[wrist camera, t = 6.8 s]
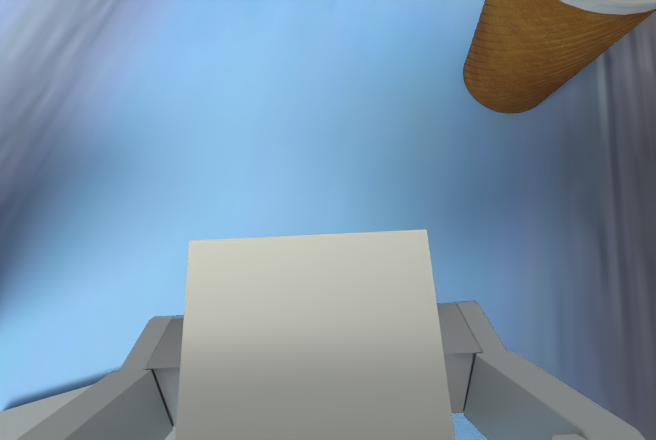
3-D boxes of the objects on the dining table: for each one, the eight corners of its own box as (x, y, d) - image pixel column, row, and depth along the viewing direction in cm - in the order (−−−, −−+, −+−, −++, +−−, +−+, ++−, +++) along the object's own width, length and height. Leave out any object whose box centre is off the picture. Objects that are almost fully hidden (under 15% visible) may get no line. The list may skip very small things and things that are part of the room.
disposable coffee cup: (544, 155, 25) (724, 10, 14) (420, 98, 27) (488, -77, 15) (587, 56, 28) (770, -140, 16) (470, 8, 29) (562, -203, 17)
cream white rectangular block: (392, 416, 12) (465, 513, 6) (257, 423, 12) (168, 529, 6) (380, 281, 14) (426, 229, 7) (258, 286, 14) (189, 240, 7)
